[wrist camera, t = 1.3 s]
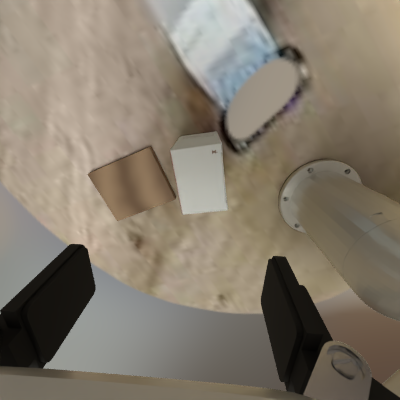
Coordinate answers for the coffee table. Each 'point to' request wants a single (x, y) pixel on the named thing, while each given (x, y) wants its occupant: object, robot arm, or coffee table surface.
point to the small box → (199, 173)
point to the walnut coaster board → (133, 184)
